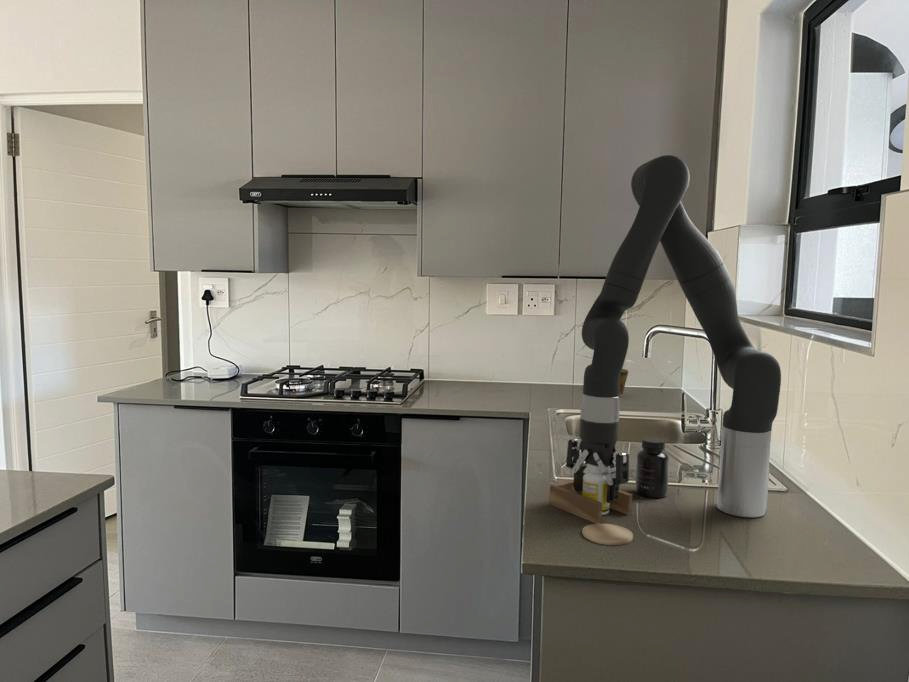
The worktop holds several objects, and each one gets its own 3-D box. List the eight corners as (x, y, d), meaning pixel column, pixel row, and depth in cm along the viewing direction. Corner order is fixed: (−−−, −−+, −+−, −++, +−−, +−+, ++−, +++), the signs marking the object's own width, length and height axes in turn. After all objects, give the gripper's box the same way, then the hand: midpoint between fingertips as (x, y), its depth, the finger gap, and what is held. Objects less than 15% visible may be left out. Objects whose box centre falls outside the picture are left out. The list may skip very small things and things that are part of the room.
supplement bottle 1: (605, 507, 145) (607, 460, 144) (612, 516, 139) (614, 468, 138) (579, 506, 144) (581, 459, 143) (584, 516, 139) (587, 467, 138)
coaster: (604, 523, 135) (605, 520, 135) (643, 538, 128) (643, 535, 128) (572, 532, 130) (572, 529, 130) (610, 549, 123) (610, 546, 123)
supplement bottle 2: (642, 486, 159) (645, 434, 158) (672, 493, 155) (675, 439, 153) (629, 493, 154) (632, 439, 152) (659, 501, 149) (662, 445, 148)
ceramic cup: (625, 393, 277) (626, 368, 276) (628, 398, 267) (629, 372, 266) (591, 392, 279) (593, 367, 278) (593, 396, 269) (594, 370, 268)
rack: (582, 496, 151) (583, 477, 151) (631, 514, 141) (632, 494, 141) (549, 504, 145) (550, 485, 145) (597, 524, 135) (598, 503, 134)
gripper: (640, 422, 137) (635, 503, 138) (585, 408, 148) (581, 484, 150) (615, 426, 132) (609, 510, 134) (560, 412, 143) (556, 489, 145)
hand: (594, 496), depth 142 cm, fingers open, 8 cm apart
